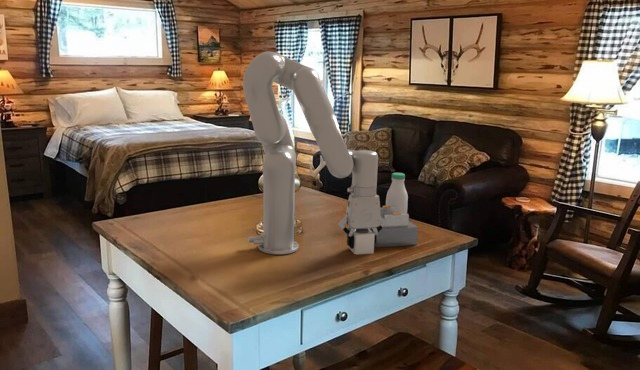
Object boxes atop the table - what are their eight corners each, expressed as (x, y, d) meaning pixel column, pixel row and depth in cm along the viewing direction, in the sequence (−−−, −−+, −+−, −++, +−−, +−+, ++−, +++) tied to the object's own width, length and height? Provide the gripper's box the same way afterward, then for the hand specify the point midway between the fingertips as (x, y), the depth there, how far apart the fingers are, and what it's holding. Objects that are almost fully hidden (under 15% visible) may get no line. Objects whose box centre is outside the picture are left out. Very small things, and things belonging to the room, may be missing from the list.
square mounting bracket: (376, 247, 176) (378, 215, 174) (363, 235, 187) (365, 205, 185) (422, 244, 180) (424, 213, 178) (407, 233, 192) (409, 203, 189)
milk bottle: (405, 232, 192) (409, 176, 188) (383, 230, 194) (386, 175, 189) (406, 226, 200) (410, 172, 195) (385, 224, 201) (388, 170, 197)
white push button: (355, 254, 169) (356, 232, 167) (349, 248, 175) (350, 226, 173) (373, 253, 171) (374, 231, 169) (366, 247, 176) (367, 225, 175)
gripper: (340, 195, 162) (338, 252, 166) (395, 192, 167) (391, 248, 171) (333, 189, 169) (331, 244, 173) (385, 187, 174) (382, 241, 178)
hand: (361, 246), depth 172 cm, fingers open, 6 cm apart
